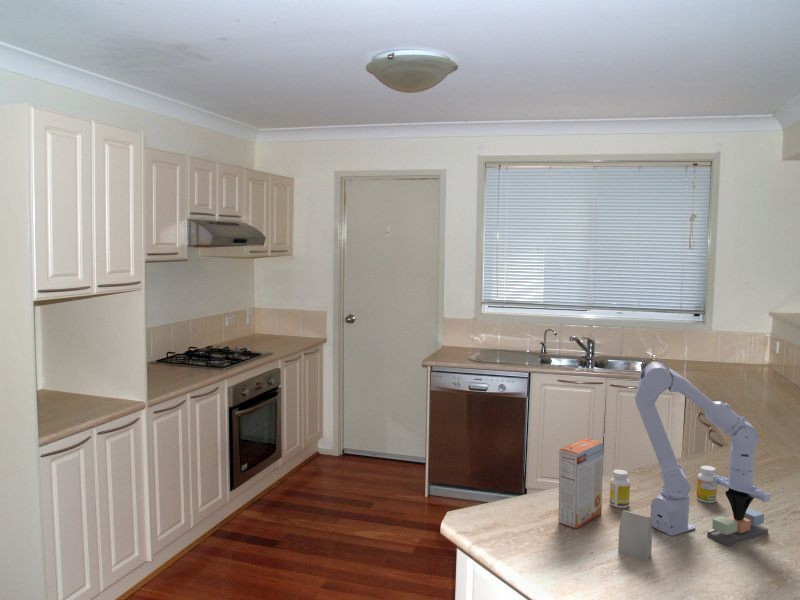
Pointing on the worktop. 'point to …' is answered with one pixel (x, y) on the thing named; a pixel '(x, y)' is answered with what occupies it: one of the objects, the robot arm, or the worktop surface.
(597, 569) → the worktop surface
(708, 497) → the supplement bottle
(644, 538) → the grey rectangular block
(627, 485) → the supplement bottle
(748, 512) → the light blue square block
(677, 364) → the worktop surface
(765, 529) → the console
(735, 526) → the sage key
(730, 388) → the worktop surface
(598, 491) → the cracker box
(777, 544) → the worktop surface
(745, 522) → the terracotta key
